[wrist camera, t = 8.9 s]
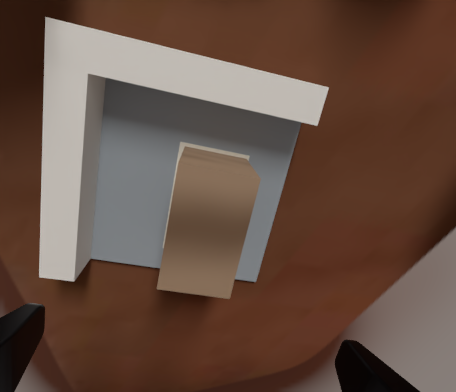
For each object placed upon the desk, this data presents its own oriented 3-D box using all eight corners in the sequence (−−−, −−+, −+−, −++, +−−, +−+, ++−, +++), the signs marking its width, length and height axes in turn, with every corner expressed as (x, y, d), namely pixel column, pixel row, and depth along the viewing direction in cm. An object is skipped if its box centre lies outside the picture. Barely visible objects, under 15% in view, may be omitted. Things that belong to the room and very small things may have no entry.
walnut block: (223, 253, 21) (229, 298, 16) (167, 244, 20) (156, 289, 15) (246, 158, 19) (260, 179, 14) (184, 146, 18) (178, 162, 13)
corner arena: (309, 89, 18) (328, 87, 15) (255, 279, 22) (262, 306, 19) (73, 31, 16) (45, 16, 13) (62, 252, 20) (39, 277, 17)
